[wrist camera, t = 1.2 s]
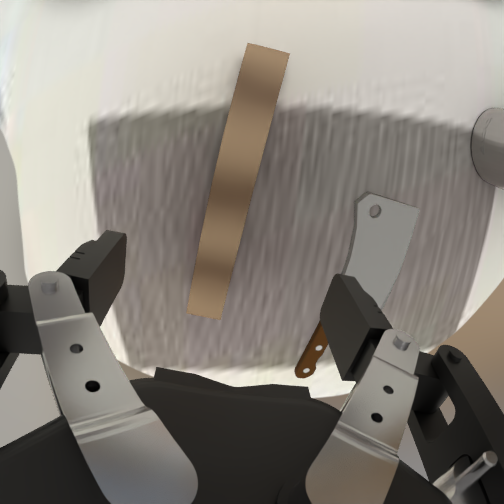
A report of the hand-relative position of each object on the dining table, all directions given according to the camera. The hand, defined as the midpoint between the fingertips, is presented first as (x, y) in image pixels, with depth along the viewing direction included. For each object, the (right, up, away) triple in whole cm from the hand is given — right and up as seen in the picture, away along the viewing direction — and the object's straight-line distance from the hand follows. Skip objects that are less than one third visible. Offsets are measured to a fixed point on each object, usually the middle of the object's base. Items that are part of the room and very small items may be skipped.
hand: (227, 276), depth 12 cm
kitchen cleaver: (+12, -4, +23) cm, 27 cm away
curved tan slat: (-1, +8, +17) cm, 19 cm away
